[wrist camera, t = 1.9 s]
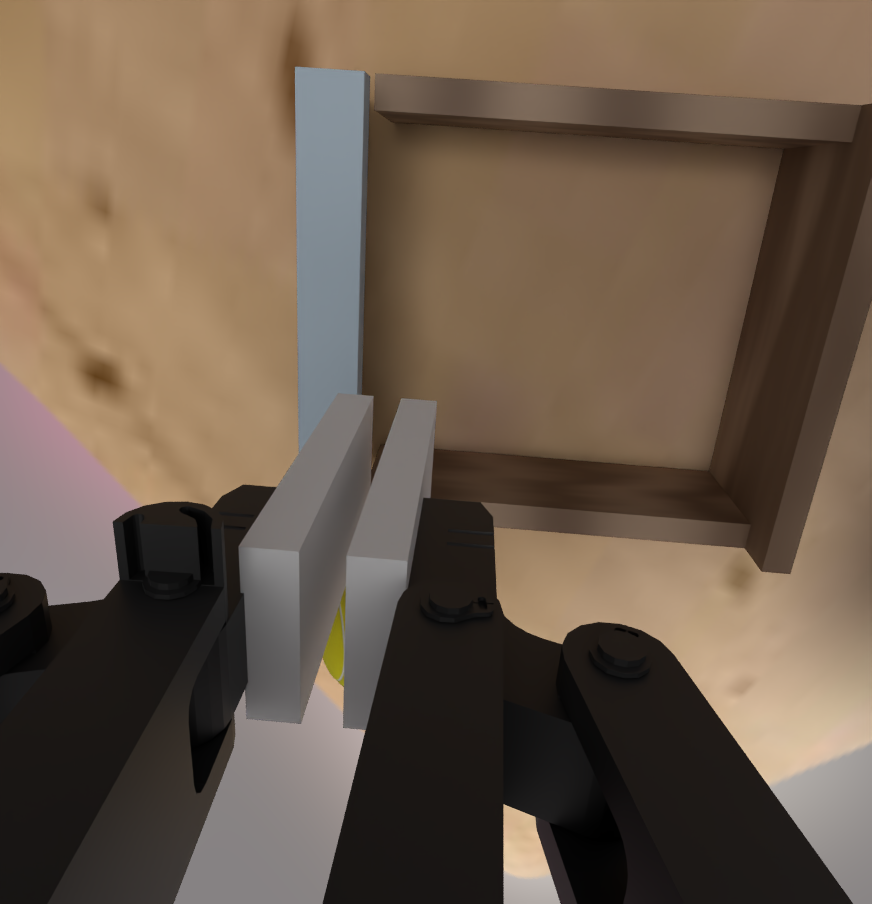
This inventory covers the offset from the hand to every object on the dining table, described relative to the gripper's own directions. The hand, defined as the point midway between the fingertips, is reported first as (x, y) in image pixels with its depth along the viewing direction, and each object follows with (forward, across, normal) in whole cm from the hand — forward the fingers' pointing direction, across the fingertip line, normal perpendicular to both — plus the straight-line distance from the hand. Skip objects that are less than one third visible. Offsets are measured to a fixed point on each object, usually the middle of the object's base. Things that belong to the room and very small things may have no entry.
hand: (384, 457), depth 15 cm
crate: (+20, -7, 0) cm, 22 cm away
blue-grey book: (+20, +3, 0) cm, 20 cm away
